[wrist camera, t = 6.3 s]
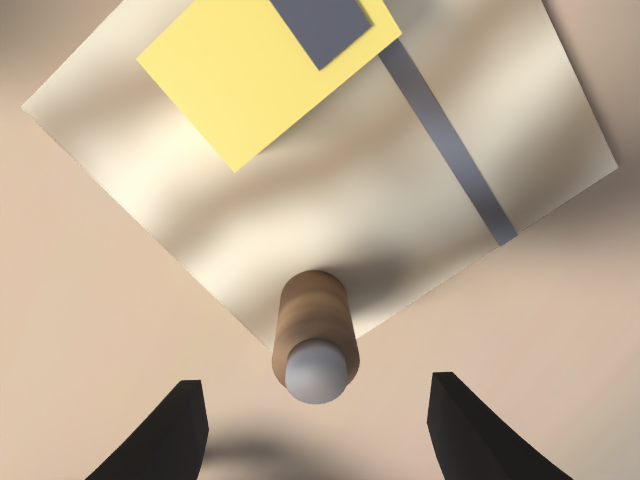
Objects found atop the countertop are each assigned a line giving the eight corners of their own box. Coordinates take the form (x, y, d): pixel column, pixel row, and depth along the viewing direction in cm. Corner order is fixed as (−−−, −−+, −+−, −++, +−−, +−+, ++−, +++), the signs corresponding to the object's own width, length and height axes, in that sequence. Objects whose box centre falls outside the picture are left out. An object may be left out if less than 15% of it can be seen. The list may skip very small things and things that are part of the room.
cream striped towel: (40, 107, 17) (18, 107, 15) (397, -259, 13) (406, -297, 12) (297, 364, 22) (297, 379, 21) (599, 163, 18) (620, 168, 17)
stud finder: (182, 71, 15) (132, 58, 11) (310, -51, 14) (312, -120, 10) (252, 156, 17) (233, 173, 12) (376, 53, 15) (403, 32, 11)
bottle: (266, 296, 19) (249, 374, 14) (319, 257, 18) (325, 323, 13) (308, 339, 20) (308, 429, 15) (360, 304, 20) (381, 385, 14)
